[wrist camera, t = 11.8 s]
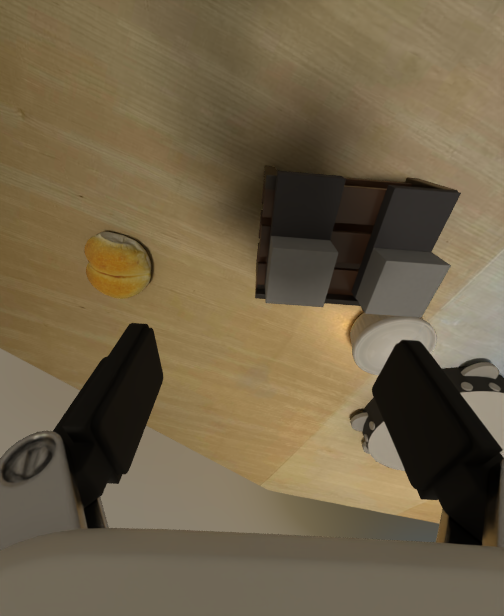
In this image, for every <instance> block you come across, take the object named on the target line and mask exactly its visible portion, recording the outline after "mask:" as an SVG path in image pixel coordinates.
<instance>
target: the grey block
mask: <svg viewBox="0 0 504 616" xmlns="http://www.w3.org/2000/svg"><path fill="white" fill-rule="evenodd" d="M460 194H461V193H459V192H456V191H453V190H445V189H433V188H421V187H409V186H396V185H388V187H387V190H386V193H385V196H384V199H383V202H382V204H381V207H380V210H379V213H378V216H377V219H376V222H375V225H374V228H373V230H372V233H371V236H370V239H369V242H368V245H367V248H366V251H365V254H364V257H363V259H362V262H361V265H360V268H359V271H358V274H357V277H356V280H355V283H354V285H353V288H352V291H351V292H352V294H353V296H354V298H355V299H357V300H358V302H359V304H360V306H361V307H362V309H363V311H364V312H365V314H379V315H393V316H406V317H420V318H421V317H422V315H423V314H424V312H425V310H426V308H427V307H428V305H429V303H430V301H431V300H432V298H433V296H434V294H435V293H436V291H437V289H438V287H439V286H440V284H441V282H442V280H443V279H444V277H445V275H446V273H447V272H448V270H449V268H450V266H451V265H449V264H448V263H446V262H445V261H443V260H442V259H440V258H439V257H438V256H436V255H435V254H433V253H432V252H431V251H432V249H433V247H434V245H435V243H436V242H437V240H438V238H439V236H440V234H441V232H442V230H443V228H444V226H445V224H446V222H447V220H448V218H449V216H450V214H451V212H452V210H453V208H454V206H455V204H456V202H457V200H458V198H459V196H460Z"/></svg>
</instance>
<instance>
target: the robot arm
mask: <svg viewBox="0 0 504 616" xmlns="http://www.w3.org/2000/svg"><path fill="white" fill-rule="evenodd" d="M162 381H163V372H162V367H161V363H160V358H159V354H158V349H157V345H156V340H155V335H154V331H153V329H152V328H149V326H148V325H147V324H138V323H131V324H129V326H128V327H127V329H126V330H125V332H124V333H123V335H122V336H121V338H120V339H119V341H118V342H117V344H116V345H115V347H114V348H113V350H112V351H111V353H110V354H109V356H108V357H105V358H103V359H102V360H101V361H100V363H99V364H98V366H97V367H96V369H95V370H94V372H93V373H92V374H91V376H90V377H89V379H88V380H87V382H86V383H85V385H84V386H83V388H82V389H81V391H80V392H79V394H78V395H77V397H76V398H75V399H74V401H73V402H72V404H71V405H70V407H69V408H68V410H67V411H66V413H65V414H64V416H63V417H62V419H61V420H60V422H59V423H58V424H57V426H56V427H55V429H54V430H53V432H52V431H42V432H37V433H34V434H31V435H29V436H27V437H25V438H23V439H22V440H20V441H18V442H17V443H15V444H14V445H13V446H12V447H11V448H9V449H8V450H7V451H6V452H5V454H4V455H3V456H2V457H1V458H0V616H504V458H503V456H502V455H501V454H500V452H501V451H502V450H503V449H502V448H501V446H500V445H499V444H498V443H497V441H496V440H495V439H494V437H493V436H492V435H491V433H490V432H489V431H488V429H487V428H486V427H485V425H484V424H483V423H482V421H481V420H480V419H479V417H478V416H477V415H476V413H475V412H474V411H473V410H472V408H471V407H470V406H469V404H468V403H467V402H466V400H465V399H464V398H463V396H462V395H461V394H460V392H459V391H458V390H457V388H456V387H455V386H454V384H453V383H452V382H451V380H450V379H449V378H448V377H447V375H446V374H445V373H444V371H443V370H442V369H441V367H440V366H439V365H438V363H437V362H436V361H435V359H434V358H433V357H432V355H431V354H430V353H429V351H428V350H427V349H426V347H425V346H424V345H423V344H422V343H421V342H420V341H416V340H401V341H400V342H399V343H397V344H396V345H395V346H394V348H393V350H392V352H391V354H390V355H389V357H388V359H387V361H386V363H385V365H384V367H383V369H382V370H381V372H380V374H379V376H378V378H377V380H376V382H375V383H374V385H373V388H372V393H373V396H374V399H375V401H376V403H377V406H378V408H379V411H380V413H381V415H382V418H383V420H384V422H385V425H386V427H387V429H388V432H389V434H390V436H391V439H392V441H393V443H394V446H395V448H396V450H397V453H398V455H399V458H400V460H401V462H402V465H403V467H404V469H405V472H406V474H407V476H408V479H409V481H410V483H411V485H412V486H413V487H414V488H415V489H417V491H418V493H419V496H420V498H421V499H427V500H438V499H439V502H440V504H441V506H442V508H443V509H442V514H441V519H440V524H439V529H438V535H437V539H436V542H417V541H416V542H415V541H398V540H380V539H360V538H340V537H321V536H319V537H318V536H299V535H279V534H259V533H236V532H213V531H190V530H167V529H128V528H127V529H125V528H109V527H108V524H107V520H106V517H105V512H104V509H103V505H102V502H101V498H100V496H101V495H102V493H103V491H104V488H105V487H106V484H107V483H116V484H118V483H119V481H120V479H121V476H122V474H126V473H127V472H128V470H129V468H130V466H131V463H132V461H133V458H134V455H135V453H136V450H137V448H138V445H139V442H140V440H141V437H142V434H143V432H144V429H145V427H146V424H147V421H148V419H149V416H150V414H151V411H152V408H153V406H154V403H155V400H156V398H157V395H158V393H159V390H160V387H161V385H162Z"/></svg>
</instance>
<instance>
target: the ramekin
mask: <svg viewBox="0 0 504 616" xmlns="http://www.w3.org/2000/svg"><path fill="white" fill-rule="evenodd" d="M350 338H351V343H352V355H353V358H354V361H355V363H356V364H357V365H358V366H359V367H360V368H361V369H362V370H363V371H365V372H368V373H370V374H374V375H379V374H380V372H381V370H382V369H383V367H384V365H385V363H386V361H387V359H388V357H389V355H390V354H391V352H392V350H393V348H394V346H395V345H396V344H397V343H399V342H400V341H401V340H416V341H420V342H421V343H422V344H423V345H424V346H425V347H426V349H427V350H428V351H429V353H430V354H431V353H432V352H433V350H434V349H435V346H436V343H437V335H436V332H435V330H434V329H433V327H432V326H431V325H430V324H429V323H428V322H426V321H425V320H423V319H421V318H419V317H406V316H393V315H379V314H365V312H364V313H363V314H361V315H360V316H359V317H358V318H357V320H356V321H355V322H354V324H353V326H352V328H351V332H350Z"/></svg>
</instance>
